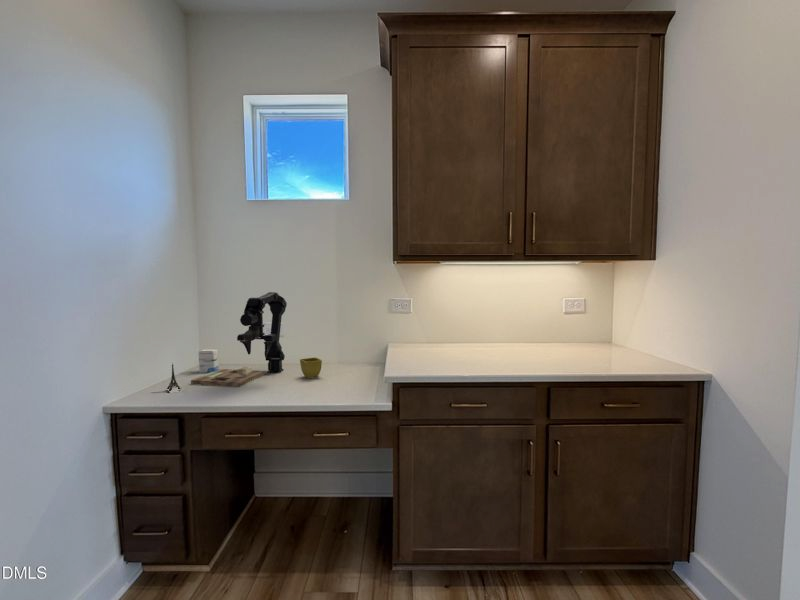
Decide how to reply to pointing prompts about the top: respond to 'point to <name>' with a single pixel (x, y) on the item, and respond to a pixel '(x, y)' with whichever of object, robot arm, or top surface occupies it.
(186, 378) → the top surface
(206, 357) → the ink box
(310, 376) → the flower pot
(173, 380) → the eiffel tower figurine
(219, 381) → the board
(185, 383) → the top surface
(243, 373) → the maple block
